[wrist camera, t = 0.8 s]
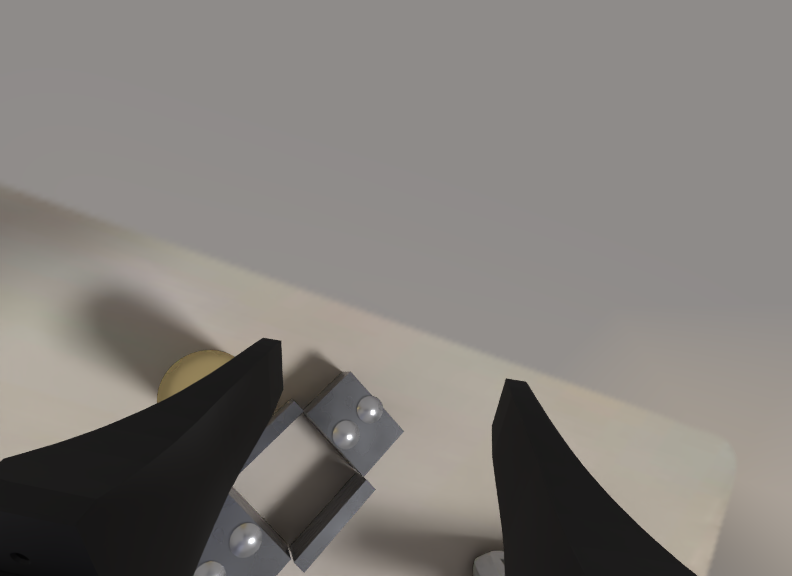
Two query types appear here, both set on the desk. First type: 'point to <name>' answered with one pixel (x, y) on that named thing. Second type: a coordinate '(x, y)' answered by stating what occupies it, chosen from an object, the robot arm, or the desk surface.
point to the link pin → (190, 371)
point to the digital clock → (489, 564)
